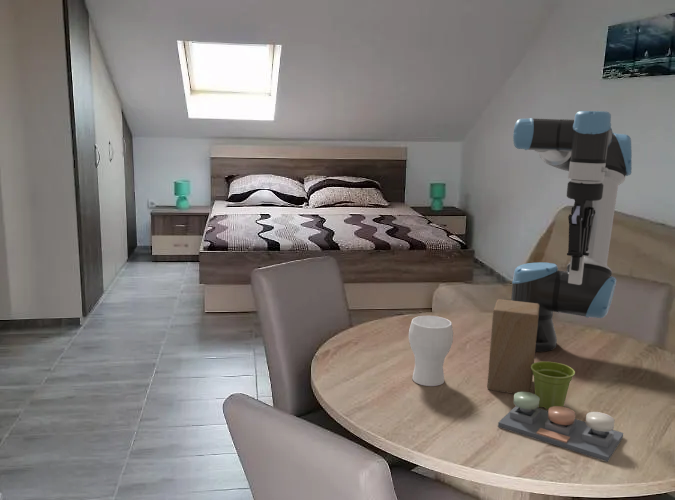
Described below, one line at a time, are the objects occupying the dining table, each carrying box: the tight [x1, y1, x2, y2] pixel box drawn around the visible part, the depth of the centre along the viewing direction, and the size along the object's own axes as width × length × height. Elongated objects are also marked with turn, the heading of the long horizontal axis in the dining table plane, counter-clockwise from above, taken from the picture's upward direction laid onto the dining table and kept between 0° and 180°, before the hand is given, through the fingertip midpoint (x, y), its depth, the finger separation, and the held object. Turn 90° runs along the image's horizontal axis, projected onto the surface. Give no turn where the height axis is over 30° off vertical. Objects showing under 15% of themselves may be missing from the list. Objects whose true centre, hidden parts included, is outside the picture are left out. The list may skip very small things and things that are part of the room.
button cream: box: [585, 411, 615, 435], centre depth 127 cm, size 5×5×3 cm
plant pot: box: [531, 360, 576, 411], centre depth 144 cm, size 9×9×9 cm
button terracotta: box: [547, 406, 576, 427], centre depth 131 cm, size 5×5×3 cm
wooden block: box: [486, 298, 539, 394], centre depth 152 cm, size 10×10×20 cm
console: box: [497, 405, 624, 462], centre depth 132 cm, size 22×12×2 cm, turn 54°
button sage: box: [513, 392, 540, 413], centre depth 136 cm, size 5×5×3 cm
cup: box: [408, 315, 454, 387], centre depth 155 cm, size 11×11×15 cm
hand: (574, 283), depth 147 cm, fingers closed
